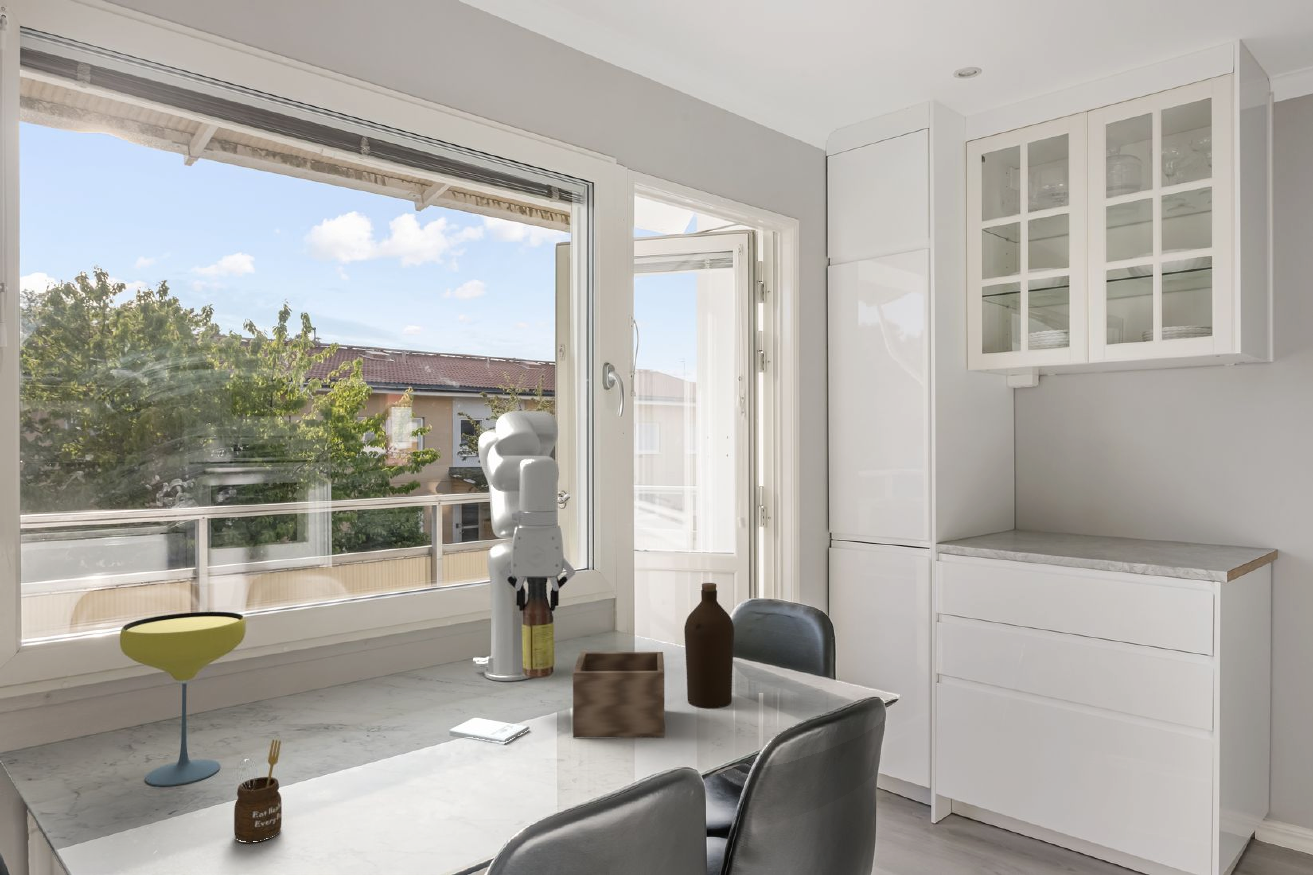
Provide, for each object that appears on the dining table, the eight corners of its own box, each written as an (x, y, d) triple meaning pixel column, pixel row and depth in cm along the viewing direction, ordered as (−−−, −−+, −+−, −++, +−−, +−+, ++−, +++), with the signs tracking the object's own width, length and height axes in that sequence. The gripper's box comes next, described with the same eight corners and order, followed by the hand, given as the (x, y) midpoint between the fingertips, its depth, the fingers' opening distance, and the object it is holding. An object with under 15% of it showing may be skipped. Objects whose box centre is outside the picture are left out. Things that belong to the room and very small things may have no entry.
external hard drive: (476, 725, 161) (529, 733, 156) (449, 738, 153) (504, 747, 148) (476, 716, 161) (529, 725, 156) (449, 729, 153) (504, 738, 148)
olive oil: (736, 709, 168) (736, 587, 169) (685, 709, 168) (684, 587, 169) (732, 694, 179) (731, 579, 179) (684, 694, 179) (683, 580, 180)
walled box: (573, 737, 152) (573, 672, 152) (580, 710, 168) (580, 652, 168) (664, 737, 152) (664, 672, 152) (663, 710, 168) (663, 651, 168)
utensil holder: (223, 840, 111) (224, 752, 112) (260, 821, 117) (261, 737, 118) (256, 847, 109) (257, 757, 110) (292, 827, 115) (293, 742, 115)
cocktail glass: (164, 752, 144) (166, 611, 145) (265, 753, 144) (266, 611, 144) (90, 795, 126) (92, 633, 127) (205, 796, 126) (206, 633, 126)
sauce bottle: (559, 671, 166) (561, 574, 165) (545, 680, 160) (547, 579, 160) (530, 667, 168) (532, 571, 168) (515, 676, 162) (517, 576, 162)
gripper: (491, 521, 160) (491, 613, 160) (579, 521, 160) (578, 614, 160) (498, 517, 167) (498, 605, 167) (582, 517, 167) (582, 605, 167)
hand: (537, 608), depth 164 cm, fingers closed on sauce bottle, 5 cm apart
